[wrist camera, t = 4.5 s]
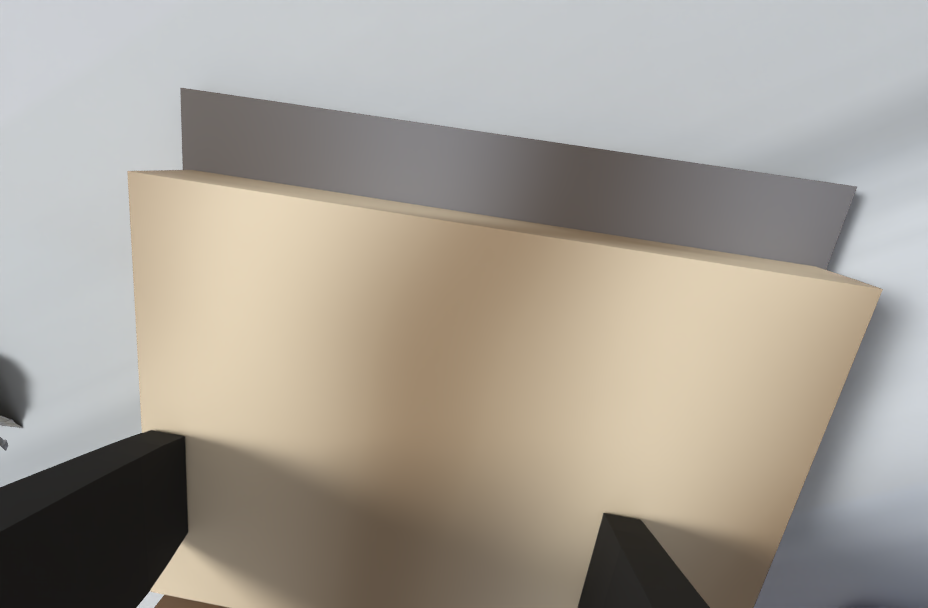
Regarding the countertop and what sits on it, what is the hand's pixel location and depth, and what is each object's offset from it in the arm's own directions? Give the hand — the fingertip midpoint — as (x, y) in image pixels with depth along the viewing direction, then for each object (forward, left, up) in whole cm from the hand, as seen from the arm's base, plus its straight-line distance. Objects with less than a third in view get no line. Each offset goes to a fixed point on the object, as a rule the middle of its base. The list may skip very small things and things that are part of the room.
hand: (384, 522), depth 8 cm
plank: (-1, -1, -2) cm, 2 cm away
